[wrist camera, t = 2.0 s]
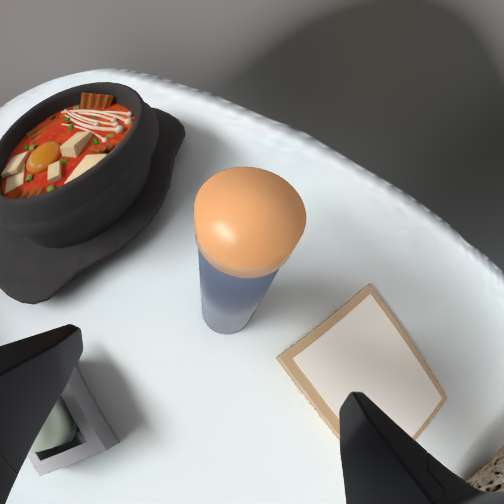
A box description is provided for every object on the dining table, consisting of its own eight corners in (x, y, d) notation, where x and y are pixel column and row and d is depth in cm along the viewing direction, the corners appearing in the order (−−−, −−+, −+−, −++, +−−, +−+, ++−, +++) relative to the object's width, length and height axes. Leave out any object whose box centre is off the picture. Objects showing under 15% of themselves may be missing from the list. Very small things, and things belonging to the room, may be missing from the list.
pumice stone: (498, 419, 18) (548, 411, 11) (505, 477, 14) (548, 475, 7) (425, 501, 14) (482, 514, 7) (438, 551, 10) (482, 565, 3)
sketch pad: (440, 398, 19) (448, 397, 18) (371, 477, 16) (378, 480, 14) (363, 287, 23) (370, 282, 22) (276, 357, 20) (279, 356, 19)
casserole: (108, 105, 30) (98, 53, 23) (226, 146, 29) (234, 80, 21) (-26, 248, 19) (-67, 206, 11) (72, 356, 17) (9, 334, 10)
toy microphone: (261, 318, 21) (327, 226, 10) (219, 345, 20) (235, 282, 8) (233, 278, 22) (263, 154, 11) (191, 302, 21) (174, 191, 9)
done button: (86, 434, 13) (60, 442, 10) (50, 450, 12) (21, 458, 8) (59, 384, 15) (30, 381, 11) (26, 402, 13) (-5, 401, 10)
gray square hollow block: (119, 442, 15) (106, 449, 12) (57, 468, 12) (39, 475, 10) (74, 360, 17) (56, 355, 14) (18, 391, 14) (-3, 389, 12)
